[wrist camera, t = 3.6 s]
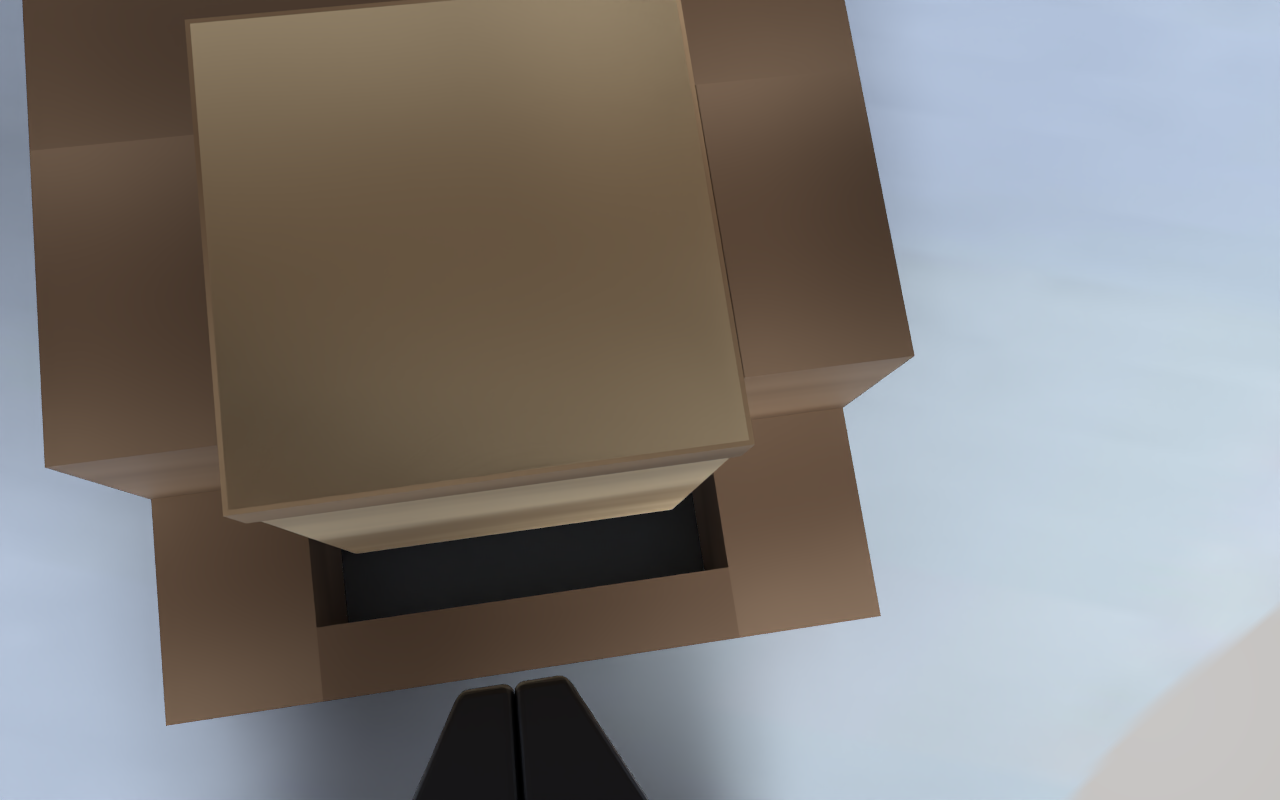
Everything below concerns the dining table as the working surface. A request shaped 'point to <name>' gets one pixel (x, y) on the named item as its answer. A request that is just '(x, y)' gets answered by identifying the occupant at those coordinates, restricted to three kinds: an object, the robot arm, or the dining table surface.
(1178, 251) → the dining table surface
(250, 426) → the peg
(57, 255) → the socket
